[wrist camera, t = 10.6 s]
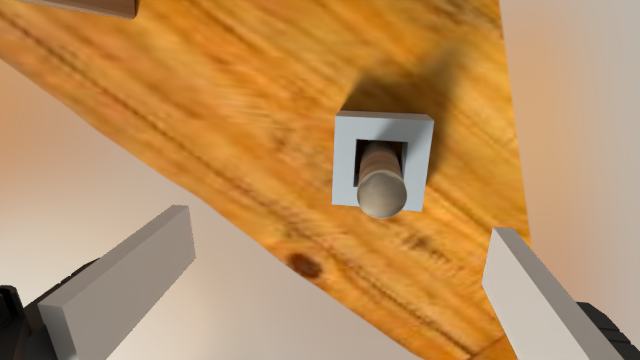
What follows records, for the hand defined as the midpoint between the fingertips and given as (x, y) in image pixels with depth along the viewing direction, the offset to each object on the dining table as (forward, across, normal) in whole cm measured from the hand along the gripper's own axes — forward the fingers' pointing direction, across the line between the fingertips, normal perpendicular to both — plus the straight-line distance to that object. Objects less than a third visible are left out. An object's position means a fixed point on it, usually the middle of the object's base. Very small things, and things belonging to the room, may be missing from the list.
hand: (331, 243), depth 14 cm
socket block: (+27, +3, -3) cm, 27 cm away
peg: (+27, +3, -3) cm, 27 cm away
